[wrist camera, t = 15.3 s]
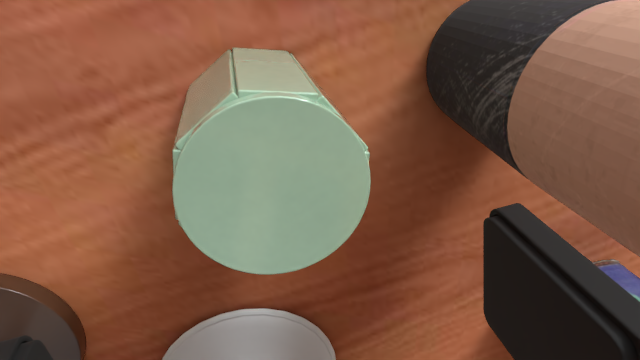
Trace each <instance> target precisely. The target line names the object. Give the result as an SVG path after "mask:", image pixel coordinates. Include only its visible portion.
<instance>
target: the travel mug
mask: <svg viewBox="0 0 640 360" xmlns="http://www.w3.org/2000/svg"><path fill="white" fill-rule="evenodd" d="M426 75H427V83H428V87H429V90H430V93H431V95H432V97H433V99H434V101H435V103H436V104H437V106H438V107H439V108H440V109H441V110H442V111H443V112H444V113H445V114H446V115H447V116H448V117H450V118H451V119H452V120H453V121H455V122H456V123H457V124H458V125H459V126H461V127H462V128H463V129H465V130H466V131H467V132H468V133H470V134H471V135H472V136H473V137H475V138H476V139H477V140H479V141H480V142H481V143H482V144H484V145H485V146H486V147H488V148H489V149H490V150H491V151H493V152H494V153H495V154H496V155H498V156H499V157H500V158H502V159H503V160H504V161H505V162H507V163H508V164H509V165H511V166H512V167H513V168H514V169H516V170H517V171H518V172H519V173H521V174H522V175H523V176H525V177H526V178H527V179H529V180H530V181H531V182H532V183H534V184H535V185H537V186H538V187H540V188H541V189H542V190H544V191H545V192H547V193H548V194H550V195H551V196H553V197H554V198H555V199H557V200H558V201H560V202H561V203H563V204H564V205H566V206H567V207H568V208H570V209H571V210H573V211H574V212H576V213H577V214H579V215H580V216H581V217H583V218H584V219H586V220H587V221H589V222H590V223H591V224H593V225H594V226H596V227H597V228H599V229H600V230H602V231H603V232H604V233H606V234H607V235H609V236H610V237H612V238H613V239H615V240H616V241H617V242H619V243H620V244H622V245H623V246H625V247H626V248H628V249H629V250H630V251H632V252H633V253H635V254H636V255H638V256H639V257H640V0H470V1H468V2H466V3H465V4H463V5H461V6H460V7H459V8H458V9H456V10H455V11H454V12H453V13H452V14H451V15H450V16H449V17H448V18H447V19H446V20H445V21H444V23H443V24H442V25H441V27H440V28H439V30H438V31H437V33H436V35H435V37H434V39H433V41H432V44H431V47H430V50H429V54H428V58H427V66H426Z"/></svg>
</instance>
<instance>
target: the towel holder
mask: <svg viewBox="0 0 640 360" xmlns="http://www.w3.org/2000/svg"><path fill="white" fill-rule="evenodd" d="M23 335H27V336H29V337H31V338H32V339H33V340H40V341H41V342H42V343H43V344H44V345H45V347H46V349H47V350H48V352H49V353H50V355H51V357H52V358H53V360H83V358H84V355H85V350H86V337H85V333H84V329H83V326H82V324H81V322H80V320H79V318H78V317H77V315H76V314H75V312H74V311H73V310H72V309H71V307H70V306H69V305H68V304H67V303H66V302H65V301H63V300H62V299H61V298H60V297H59V296H57V295H56V294H54V293H53V292H51V291H50V290H48V289H46V288H44V287H42V286H40V285H38V284H36V283H33V282H31V281H29V280H26V279H22V278H19V277H16V276H11V275H6V274H0V342H1V341H4V340H8V339H12V338H16V337H19V336H23Z"/></svg>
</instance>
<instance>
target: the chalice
mask: <svg viewBox="0 0 640 360" xmlns="http://www.w3.org/2000/svg"><path fill="white" fill-rule="evenodd" d="M162 360H336V358H335V352H334V350H333V347H332V345H331V343H330V341H329V339H328V338H327V337H326V336H325V334H324V333H323V332H322V331H321V330H320V329H319V328H318V327H317V326H315V325H314V324H312V323H311V322H309V321H308V320H306V319H305V318H303V317H300V316H297V315H294V314H291V313H289V312H286V311H280V310H273V309H266V308H261V309H241V310H237V311H232V312H228V313H223V314H220V315H217V316H215V317H212V318H210V319H208V320H205V321H203V322H201V323H199V324H197V325H196V326H194V327H193V328H191V329H190V330H188V331H187V332H185V333H183V334H182V335H181V336H180V337H179V338H178V339H177V340H176V341H175V342H174V343H173V344H172V345H171V346H170V347H169V349H168V350H167V352H166V354H165V355H164V357H163V359H162Z"/></svg>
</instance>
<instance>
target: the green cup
mask: <svg viewBox="0 0 640 360" xmlns="http://www.w3.org/2000/svg"><path fill="white" fill-rule="evenodd" d="M369 156H370V153H369V151H368V146H367V145H366V144H365V143H364V141H363V140H362V139H361V137H360V136H359V135H358V134H357V132H356V131H355V130H354V129H353V127H352V126H351V125H350V123H349V122H348V121H347V120H346V118H345V117H344V116H343V114H342V113H341V112H340V111H339V109H338V108H337V107H336V106H335V104H334V103H333V102H332V100H331V99H330V98H329V97H328V95H327V94H326V93H325V92H324V90H323V89H322V88H321V87H320V86H319V85H318V83H317V82H316V81H315V80H314V79H313V78H312V76H311V75H310V74H309V73H308V72H307V71H306V69H305V68H304V67H303V66H302V65H301V64H300V62H299V61H298V60H297V59H296V58H295V57H294V55H293V54H292V53H290V54H289V53H288V51H278V50H261V49H244V48H233V49H232V52H231V51H230V50H227V51H226V52H225V53H224V54H223V55H222V56H221V57H220V58H219V59H218V60H217V61H215V62H214V63H213V64H212V65H211V66H210V67H209V68H208V69H207V70H206V71H205V72H204V73H203V74H202V75H201V76H199V77H198V78H197V79H196V80H195V81H194V82H193V83H192V84H191V85H190V86H189V90H188V91H187V95H186V99H185V103H184V107H183V111H182V115H181V119H180V123H179V127H178V131H177V134H176V138H175V142H174V146H173V150H172V157H173V183H172V196H173V204H174V208H175V218H176V219H177V220H178V224H179V225H180V226H181V227H182V229H183V230H184V232H185V233H186V235H187V236H188V238H189V239H190V240H191V241H192V242H193V244H194V245H195V246H196V247H197V248H198V249H199V250H200V251H202V252H203V253H204V254H205V255H207V256H208V257H209V258H211V259H212V260H214V261H216V262H218V263H220V264H222V265H224V266H226V267H229V268H231V269H234V270H237V271H241V272H245V273H252V274H266V275H272V274H282V273H288V272H292V271H296V270H299V269H303V268H306V267H308V266H310V265H313V264H315V263H317V262H319V261H321V260H322V259H324V258H326V257H327V256H329V255H330V254H331V253H333V252H334V251H336V250H337V249H338V248H339V247H340V246H341V245H342V244H343V243H344V242H345V241H346V240H347V239H348V238H349V237H350V235H351V234H352V233H353V232H354V230H355V229H356V227H357V226H358V224H359V222H360V220H361V218H362V216H363V214H364V212H365V209H366V206H367V203H368V198H369V194H370V184H371V178H370V167H369Z"/></svg>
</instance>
